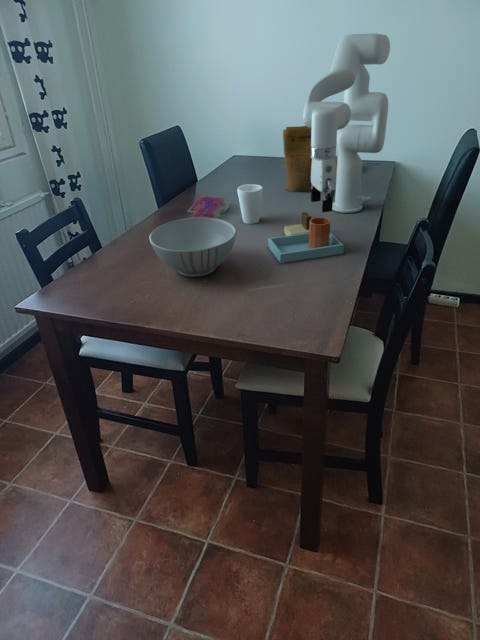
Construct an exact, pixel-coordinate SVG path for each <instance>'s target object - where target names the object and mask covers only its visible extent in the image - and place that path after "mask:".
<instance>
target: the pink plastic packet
mask: <svg viewBox="0 0 480 640" xmlns="http://www.w3.org/2000/svg"><path fill="white" fill-rule="evenodd" d="M228 201H229V200H228V198H227V197H214V196H213V197H212V196H200V197H199V198H198V199H197V200H196V201H195V202H194V203H193V204H192V206H190V208H188V209H187V213H193V214H192V216H191V217H190V218H197V217H206V218H216V219H219V218H221V216H222V214H225V213H226V212H227V210H228V208H229V207H230V205H231V204H232V203H230V202H228ZM221 212H222V214H221Z"/></svg>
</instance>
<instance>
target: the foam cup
mask: <svg viewBox="0 0 480 640" xmlns="http://www.w3.org/2000/svg"><path fill="white" fill-rule="evenodd" d="M236 188H237V189H236V191H237V192H236V193H237V196H238V200H239V207H240V212H241V218H242V222H243V223H244V224H247V225H254V224H257V223H259V222H260V216H261V208H262V199H263V192H264V191H263V186H262V185H260V184H257V183H256V184H255V183H254V184H253V183H247V184H242V185H240V186H238V187H236Z"/></svg>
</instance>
